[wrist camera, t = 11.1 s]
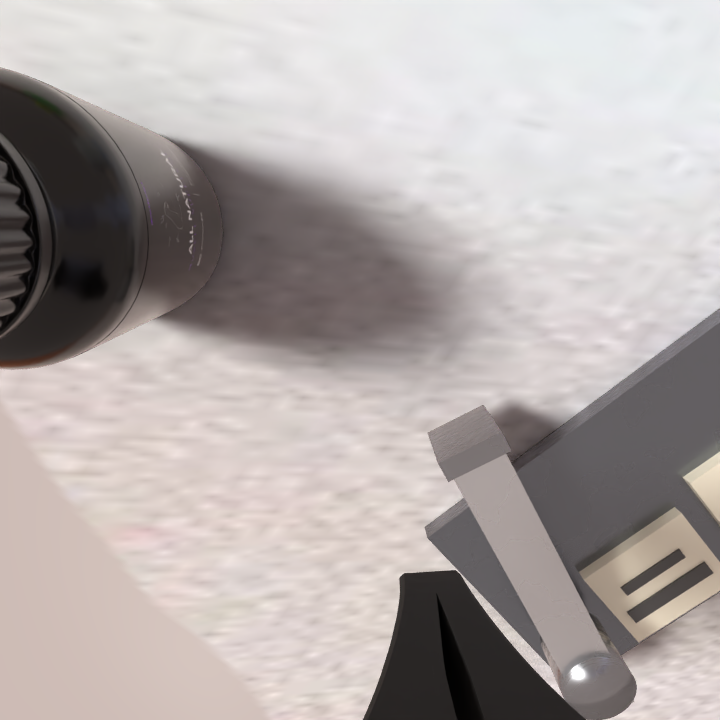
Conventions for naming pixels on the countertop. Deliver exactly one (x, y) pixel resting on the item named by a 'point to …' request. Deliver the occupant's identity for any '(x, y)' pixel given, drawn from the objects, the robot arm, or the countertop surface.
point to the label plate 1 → (655, 575)
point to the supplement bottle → (92, 224)
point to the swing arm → (534, 566)
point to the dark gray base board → (608, 478)
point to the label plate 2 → (707, 485)
